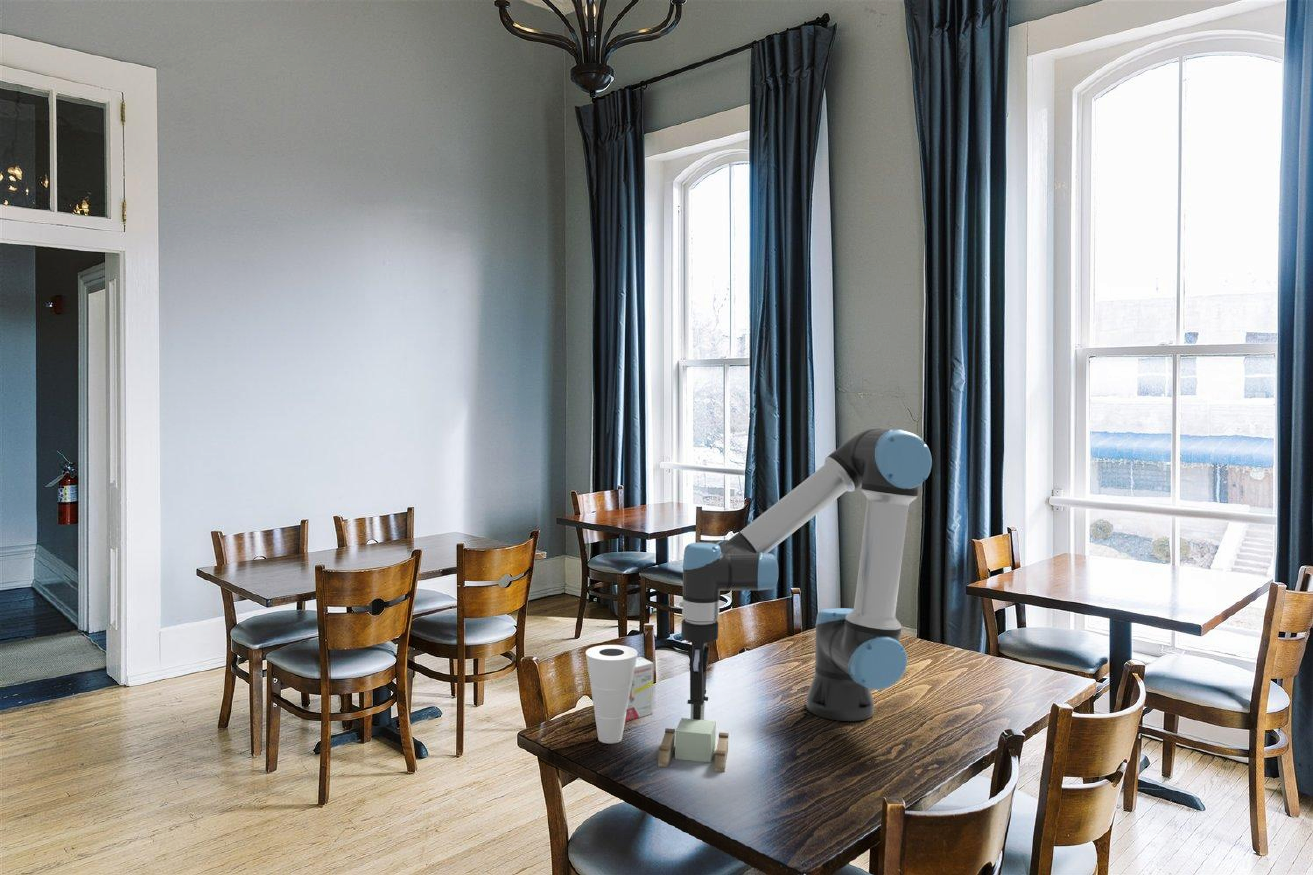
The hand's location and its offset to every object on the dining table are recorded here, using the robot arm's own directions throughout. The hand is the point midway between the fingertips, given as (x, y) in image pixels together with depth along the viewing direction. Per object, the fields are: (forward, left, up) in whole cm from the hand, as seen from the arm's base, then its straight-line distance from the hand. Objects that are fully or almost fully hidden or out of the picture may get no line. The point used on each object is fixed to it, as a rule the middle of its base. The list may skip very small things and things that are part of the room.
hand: (697, 733), depth 172 cm
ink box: (+16, -12, -2) cm, 20 cm away
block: (0, +5, -2) cm, 6 cm away
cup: (+18, +2, -2) cm, 18 cm away
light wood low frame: (0, +8, -2) cm, 8 cm away
